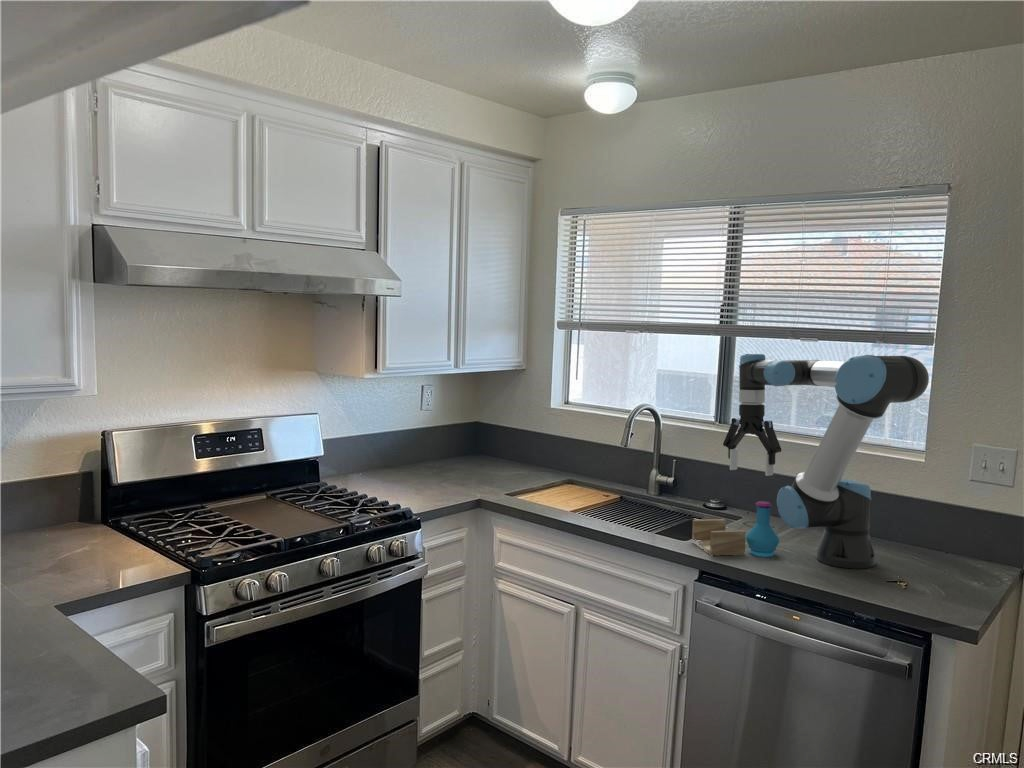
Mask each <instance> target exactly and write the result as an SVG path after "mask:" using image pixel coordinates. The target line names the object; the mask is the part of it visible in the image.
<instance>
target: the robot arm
mask: <svg viewBox="0 0 1024 768" xmlns="http://www.w3.org/2000/svg"><path fill="white" fill-rule="evenodd" d="M739 358H740V359H739V366H738V369H739V370H738V371H739V374H738V375H739V377H738V378H739V379H738V380H739V384H738V385H739V386H738V387H739V389H738V391H739V393H738V402H739V403H740V404H739V405H738V416H739V417H740V418H739V417H733V418H731V422H730V426H729V429H728V431H727V433H726V436H725V438H724V440H723V443H722V445H723V447H726V448H727V449H728V451H727V452H728V453H727V455H728V459H729V470H730V471H736V470H738V456H739V455H738V450H739V449H738V448H737V447H738V445H739V444H740V442H741V440H742V439H743V438H744V437H745V436H746V435H747V434H750V435H755V436H756V437H757V438H758V439H759V441H760V443H761V445H763V447H764V449H765V450H766V452H767V453H765V464H764V465H765V467H764V470H765V471H764V472H765V473H764V475H765V476H766V477H769V476H774V465H775V464H776V454H777V453H781V452H782V448H781V445H780V442H779V439H778V437H777V434H776V432H775V429H774V424H773V421H772V420H764V417H765V416H766V415H765V411H766V410H765V409H766V407H765V404H764V403H765V402H766V401H765V399H766V397H765V396H766V395H765V394H766V386H773V387H785V386H812V387H813V386H815V387H828V388H834V390H835V393H836V400H837V401H838V406H837V408H836V410H835V412H834V415H833V417H832V418H831V420H830V422H829V425H828V426H827V429H826V431H825V432H824V435H822V436H823V437H822V438H821V440H820V442H819V444H818V446H817V448H816V450H815V452H814V454H813V456H812V458H811V460H810V462H809V464H808V466H807V468H806V471H802V472H799V473H798V474H797V475H796V477H795V479H794V481H793V483H792V484H791V485H786V486H782V487H781V488H780V489H779V490H778V493H777V496H776V506H777V510H778V514H779V516H780V518H781V519H782V521H783V522H784V524H785V525H787V526H788V527H789V528H792V529H796V530H797V529H798V530H799V529H801V530H806V529H813V528H814V529H815V528H823V534H822V536H821V539H820V541H819V544H818V547H817V549H816V560H818V561H820V562H822V563H824V564H826V565H829V566H834V567H837V568H844V569H857V570H858V569H870V568H873V567H875V566H876V555H875V550H874V548H873V545H872V541H871V538H870V524H871V508H872V506H871V505H872V496H871V494H872V493H871V490H872V489H871V487H870V486H869V484H867V483H865V482H862V481H858V480H853V479H849V478H848V479H846V478H843V476H844V474H845V472H846V470H847V468H848V467H849V465H850V464H851V461H852V459H853V457H854V455H855V453H856V452H857V450H858V448H859V446H860V444H861V443H862V442H863V441H862V440H863V439H864V438H865V435H866V433H867V431H868V429H870V426H871V424H872V422H873V421H874V420H876V419H880V418H881V417H883V416H884V415H885V413H886V411H887V409H888V407H889V405H890V404H893V403H896V404H897V403H907V402H911V401H914V400H916V399H918V398H919V397H920V396H922V395H923V394H924V392H925V391H926V390H927V389H928V385H929V382H930V381H929V380H930V378H929V377H930V376H929V372H928V370H927V367H926V366H925V365H924V364H923V363H922V361H920V360H919V359H917V358H914V357H911V356H908V355H873V354H864V355H863V354H862V355H858V356H852V357H849V358H848V359H846V360H845V361H844V360H843V361H842V360H820V359H802V360H801V359H799V360H797V359H795V360H794V359H769V360H768V359H766V355H765V354H764V353H742V354H740V357H739Z"/></svg>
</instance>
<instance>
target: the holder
mask: <svg viewBox="0 0 1024 768" xmlns="http://www.w3.org/2000/svg"><path fill="white" fill-rule="evenodd" d="M726 523H727V522H726V519H724V518H714V519H712V518H710V519H709V518H708V519H707V518H706V519H692V526H691V527H692V529H691V533H692V534H691V535H692V536H691V540H695V539H696V540H701V541H699V542H698V543H699V545H701V546H702V547H703V548H704V549H705V550H706V551H707V552H708V553H710V554H711V555H733V556H745V553H746V535H747V531H746V530H744V529H739V530H738V529H736V530H733V529H731V530H726V526H727V525H726ZM696 540H695V541H696ZM701 542H702V543H701ZM708 553H707V554H708ZM711 555H710V556H711Z"/></svg>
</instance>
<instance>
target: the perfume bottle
mask: <svg viewBox="0 0 1024 768" xmlns="http://www.w3.org/2000/svg"><path fill="white" fill-rule="evenodd" d="M755 505H756V507H755V508H756V523H755V524H754V525H753V527H752V528H751V529H750V530H749V532H747V533H746V537H745V541H746V543H747V545H748V548H749V549H750V551H749V552H750V553H749V554H751V553H752V554H751V555H753V554H754V555H753V556H756V555H757V557H763V558H764V557H766V558H767V557H768V558H769V557H773V556H775V551H776V550H777V547H778V545H779V543H780V538H779V535H778V534H777V533H776V531H775V530H774V529H773V527H772V525H771V524H770V522H771V521H770V516H771V507H772V506H773V504H772V503H770V502H769V501H766V500H765V501H761V500H759V501H756V503H755Z"/></svg>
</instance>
